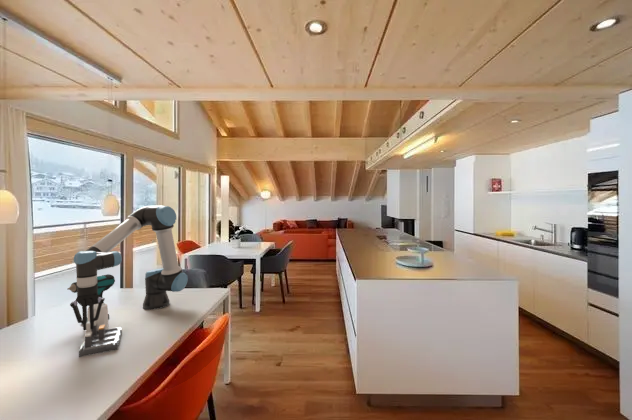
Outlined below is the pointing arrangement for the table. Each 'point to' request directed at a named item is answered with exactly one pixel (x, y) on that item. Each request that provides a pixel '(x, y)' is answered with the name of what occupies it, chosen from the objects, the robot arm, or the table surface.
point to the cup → (100, 315)
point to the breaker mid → (101, 331)
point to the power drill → (98, 285)
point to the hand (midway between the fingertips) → (89, 336)
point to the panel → (102, 342)
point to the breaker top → (88, 339)
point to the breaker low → (94, 329)
